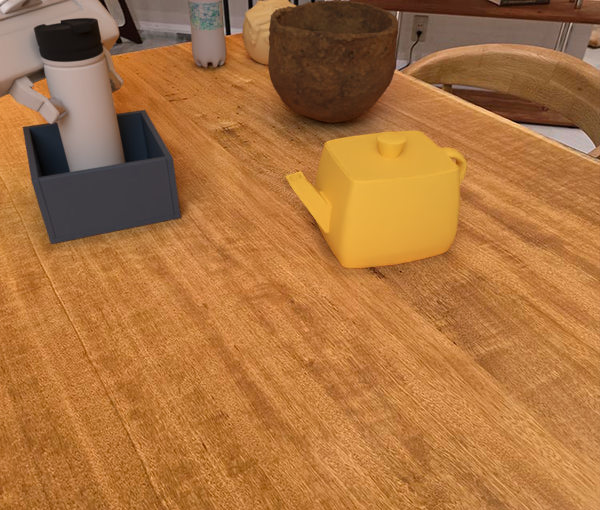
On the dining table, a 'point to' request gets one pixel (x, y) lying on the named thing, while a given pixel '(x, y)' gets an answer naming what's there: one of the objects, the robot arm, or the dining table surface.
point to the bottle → (207, 32)
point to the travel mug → (81, 92)
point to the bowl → (332, 57)
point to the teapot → (384, 197)
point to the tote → (103, 182)
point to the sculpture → (260, 28)
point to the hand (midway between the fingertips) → (90, 103)
